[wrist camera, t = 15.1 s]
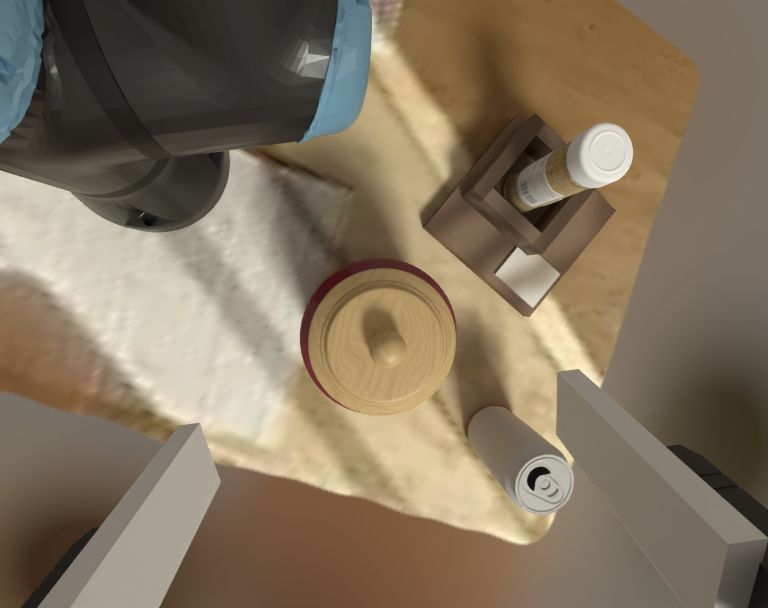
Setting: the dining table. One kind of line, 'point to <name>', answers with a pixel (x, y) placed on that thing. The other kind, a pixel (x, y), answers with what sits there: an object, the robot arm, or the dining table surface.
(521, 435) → the beverage can
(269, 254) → the dining table surface
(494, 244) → the spice caddy
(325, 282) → the canister
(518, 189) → the sprinkles bottle
